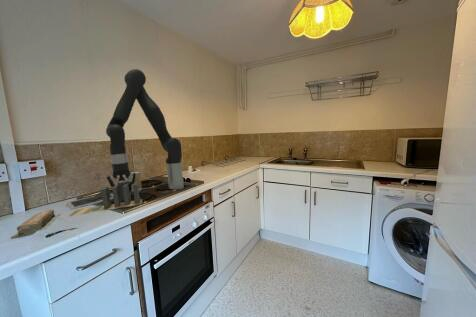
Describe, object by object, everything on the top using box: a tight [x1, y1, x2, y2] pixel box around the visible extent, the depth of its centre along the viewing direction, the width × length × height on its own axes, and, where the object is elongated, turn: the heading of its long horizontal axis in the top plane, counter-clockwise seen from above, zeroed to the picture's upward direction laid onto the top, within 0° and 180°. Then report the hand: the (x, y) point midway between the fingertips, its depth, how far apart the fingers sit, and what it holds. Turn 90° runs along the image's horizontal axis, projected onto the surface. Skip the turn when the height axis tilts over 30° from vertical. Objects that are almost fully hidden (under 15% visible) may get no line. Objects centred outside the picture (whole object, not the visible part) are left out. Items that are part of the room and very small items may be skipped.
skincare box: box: [128, 171, 143, 193], centre depth 126 cm, size 6×4×12 cm
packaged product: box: [10, 209, 62, 240], centre depth 81 cm, size 18×5×10 cm
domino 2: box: [111, 185, 122, 207], centre depth 97 cm, size 2×5×10 cm, turn 22°
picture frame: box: [65, 191, 114, 210], centre depth 108 cm, size 16×3×21 cm
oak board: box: [68, 198, 143, 217], centre depth 96 cm, size 30×8×1 cm, turn 112°
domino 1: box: [100, 186, 112, 209], centre depth 95 cm, size 2×5×10 cm, turn 21°
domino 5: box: [133, 183, 141, 205], centre depth 100 cm, size 2×5×10 cm, turn 22°
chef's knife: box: [45, 227, 77, 238], centre depth 79 cm, size 19×1×3 cm
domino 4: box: [123, 184, 132, 207], centre depth 99 cm, size 2×5×10 cm, turn 22°
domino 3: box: [118, 181, 132, 202], centre depth 105 cm, size 2×5×10 cm, turn 112°
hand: (124, 192), depth 105 cm, fingers closed on domino 3, 5 cm apart
